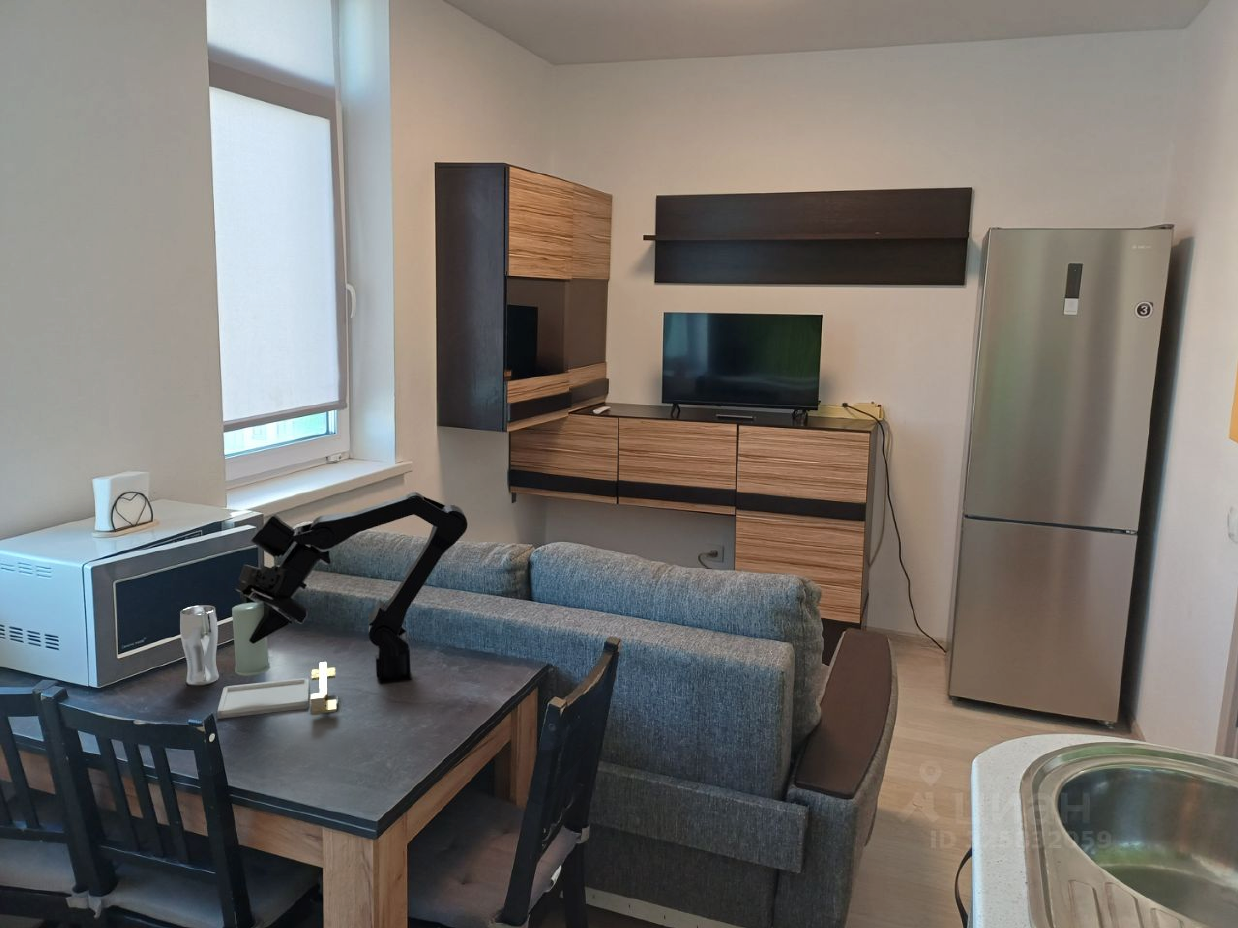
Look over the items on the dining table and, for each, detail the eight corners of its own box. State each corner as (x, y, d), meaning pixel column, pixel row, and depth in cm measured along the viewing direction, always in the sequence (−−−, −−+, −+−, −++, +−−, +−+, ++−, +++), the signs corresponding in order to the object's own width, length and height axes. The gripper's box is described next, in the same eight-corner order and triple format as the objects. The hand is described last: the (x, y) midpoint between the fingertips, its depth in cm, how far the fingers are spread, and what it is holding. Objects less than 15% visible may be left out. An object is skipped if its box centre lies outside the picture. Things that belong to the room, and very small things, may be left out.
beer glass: (207, 687, 185) (201, 616, 182) (176, 684, 186) (171, 614, 184) (228, 674, 191) (223, 605, 189) (198, 672, 193) (193, 603, 190)
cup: (271, 661, 180) (267, 601, 178) (267, 673, 174) (263, 611, 172) (237, 665, 179) (233, 603, 177) (233, 677, 173) (228, 613, 171)
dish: (309, 684, 186) (308, 677, 186) (308, 708, 175) (307, 700, 175) (224, 693, 182) (224, 686, 181) (217, 718, 170) (217, 711, 170)
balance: (337, 689, 184) (336, 656, 183) (338, 720, 170) (336, 685, 169) (311, 692, 182) (309, 659, 181) (310, 724, 168) (308, 689, 167)
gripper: (242, 540, 182) (190, 606, 176) (288, 556, 170) (234, 628, 163) (281, 570, 189) (233, 635, 183) (329, 588, 177) (279, 658, 170)
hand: (243, 638), depth 175 cm, fingers closed on cup, 6 cm apart
